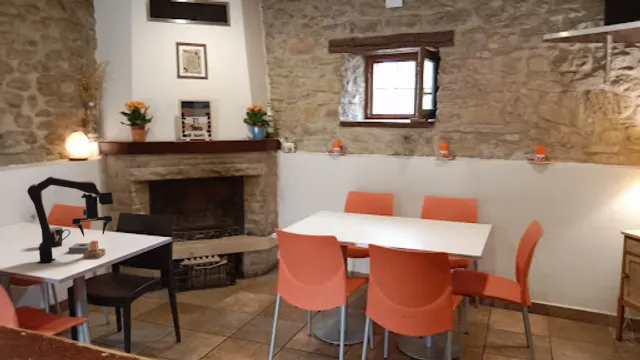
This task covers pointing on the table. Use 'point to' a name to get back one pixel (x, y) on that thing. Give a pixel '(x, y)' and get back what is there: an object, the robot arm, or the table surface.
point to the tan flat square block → (94, 254)
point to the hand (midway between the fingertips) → (93, 235)
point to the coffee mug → (59, 235)
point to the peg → (94, 246)
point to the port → (79, 248)
